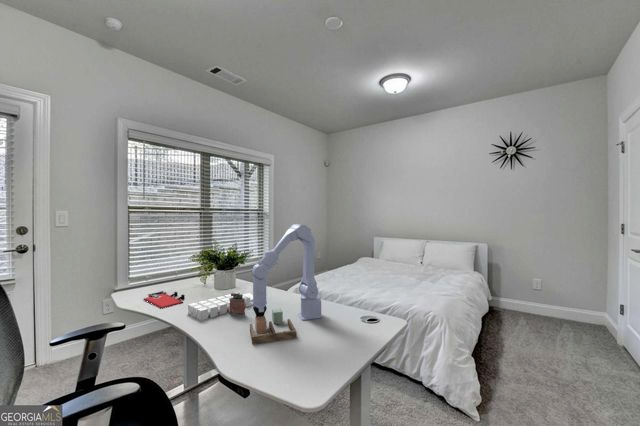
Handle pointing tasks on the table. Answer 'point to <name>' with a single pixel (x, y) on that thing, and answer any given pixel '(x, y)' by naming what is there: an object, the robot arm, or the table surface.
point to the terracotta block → (260, 324)
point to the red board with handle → (164, 299)
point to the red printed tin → (237, 304)
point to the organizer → (214, 306)
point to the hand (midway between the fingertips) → (259, 323)
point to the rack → (273, 334)
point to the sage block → (277, 316)
